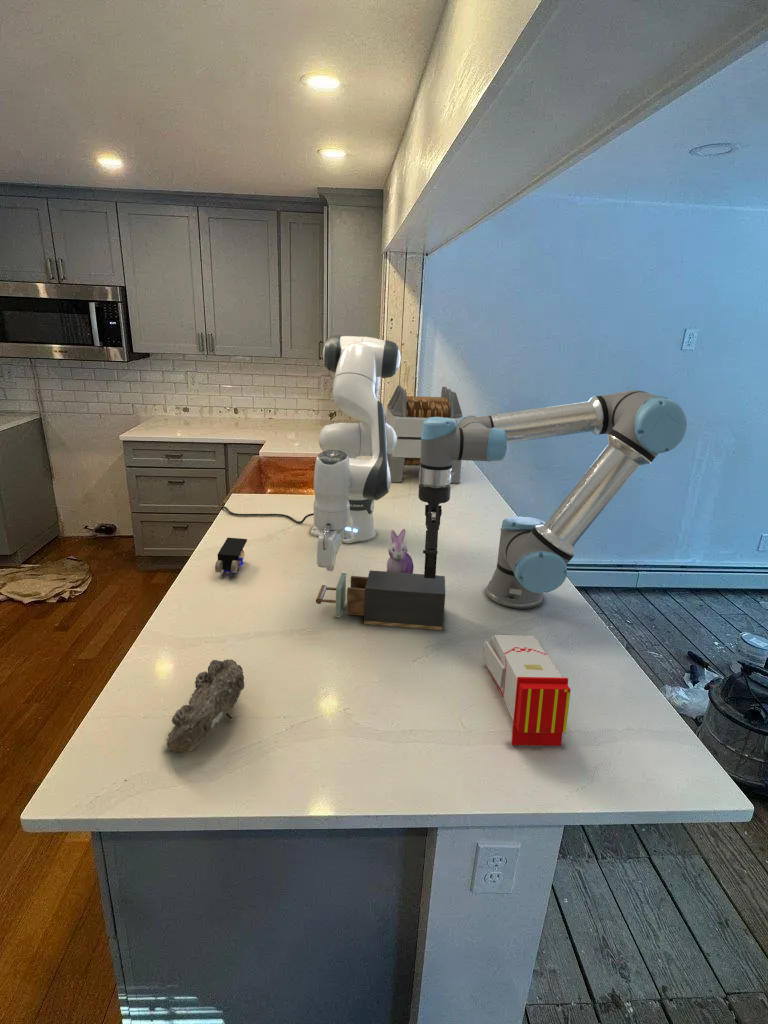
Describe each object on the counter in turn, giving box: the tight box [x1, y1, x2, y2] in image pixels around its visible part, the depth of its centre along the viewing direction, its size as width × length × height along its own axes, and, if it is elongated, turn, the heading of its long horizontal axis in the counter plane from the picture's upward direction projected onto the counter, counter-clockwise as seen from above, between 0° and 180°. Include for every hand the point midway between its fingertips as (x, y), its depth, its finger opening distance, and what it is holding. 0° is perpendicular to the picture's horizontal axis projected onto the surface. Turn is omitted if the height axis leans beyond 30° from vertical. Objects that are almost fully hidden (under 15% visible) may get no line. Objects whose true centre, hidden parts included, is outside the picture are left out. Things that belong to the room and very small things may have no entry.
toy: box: [482, 634, 572, 747], centre depth 115 cm, size 12×13×30 cm
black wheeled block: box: [214, 537, 248, 578], centre depth 166 cm, size 7×8×15 cm
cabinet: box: [363, 570, 446, 631], centre depth 145 cm, size 20×10×10 cm, turn 85°
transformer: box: [385, 384, 463, 484], centre depth 268 cm, size 34×33×41 cm
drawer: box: [315, 572, 368, 618], centre depth 145 cm, size 24×9×8 cm, turn 85°
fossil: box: [166, 658, 245, 754], centre depth 106 cm, size 22×10×15 cm
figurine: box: [386, 528, 415, 574], centre depth 164 cm, size 9×10×15 cm
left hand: (331, 568), depth 143 cm, fingers closed
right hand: (429, 565), depth 141 cm, fingers open, 13 cm apart
